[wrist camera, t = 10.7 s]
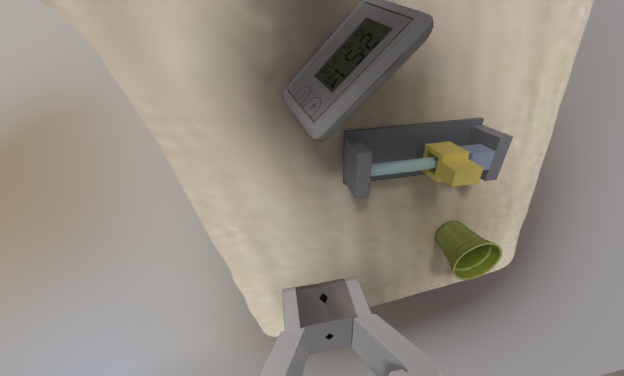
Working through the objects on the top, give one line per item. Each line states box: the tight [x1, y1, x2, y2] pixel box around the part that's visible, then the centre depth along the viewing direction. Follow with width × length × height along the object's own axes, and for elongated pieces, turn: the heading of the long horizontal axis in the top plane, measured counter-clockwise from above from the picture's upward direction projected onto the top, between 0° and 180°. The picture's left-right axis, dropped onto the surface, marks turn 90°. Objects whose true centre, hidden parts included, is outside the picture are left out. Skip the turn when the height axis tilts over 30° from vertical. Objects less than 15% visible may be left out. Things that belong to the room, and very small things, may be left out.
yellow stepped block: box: [421, 141, 483, 187], centre depth 36 cm, size 4×4×7 cm
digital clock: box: [283, 0, 433, 141], centre depth 28 cm, size 16×9×11 cm, turn 123°
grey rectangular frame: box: [343, 118, 513, 198], centre depth 39 cm, size 23×9×6 cm, turn 93°
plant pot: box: [435, 221, 502, 280], centre depth 49 cm, size 9×9×9 cm
